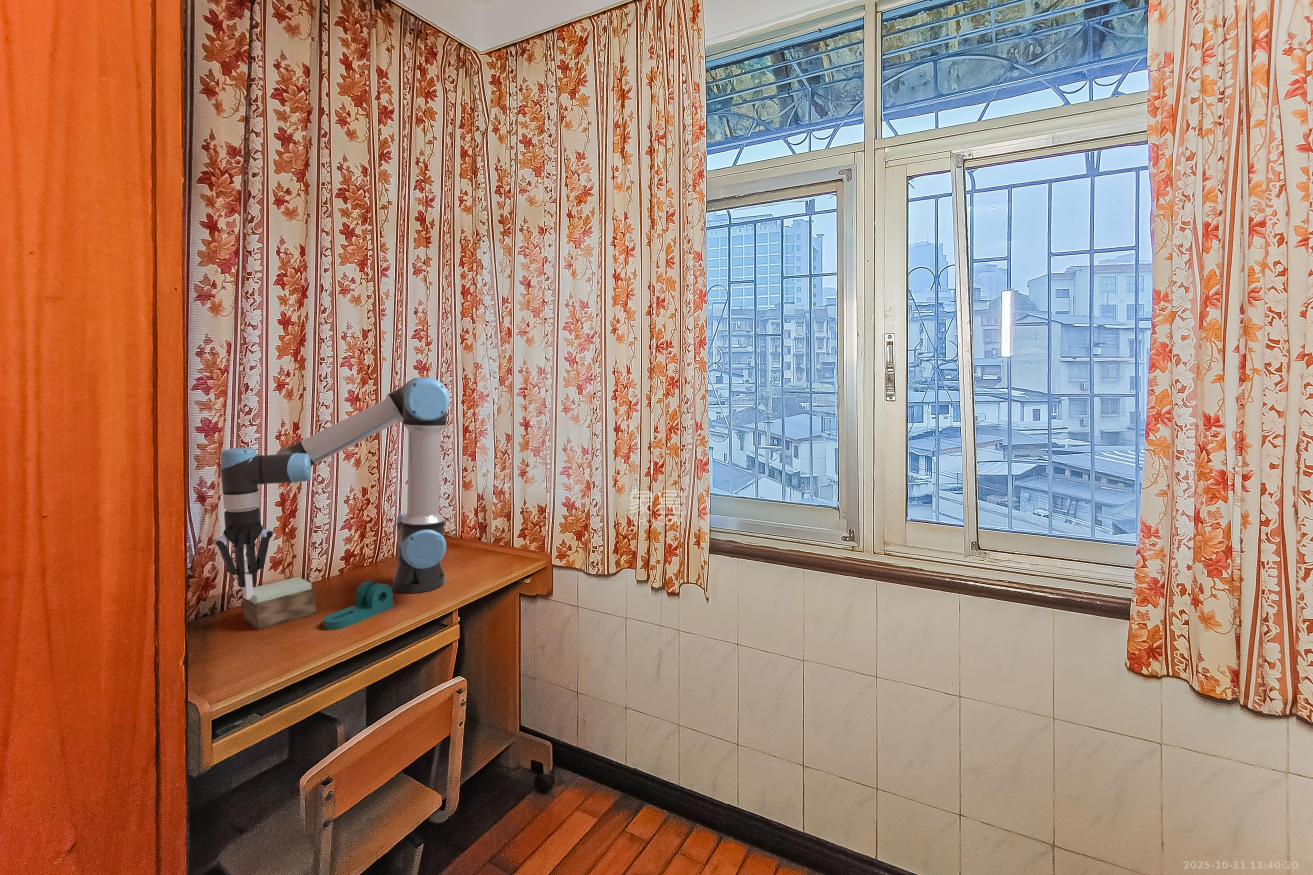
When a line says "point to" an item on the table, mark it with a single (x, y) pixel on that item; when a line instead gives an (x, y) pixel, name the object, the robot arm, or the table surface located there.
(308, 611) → the box
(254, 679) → the table surface
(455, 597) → the table surface
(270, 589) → the lid
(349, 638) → the table surface
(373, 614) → the bracket
